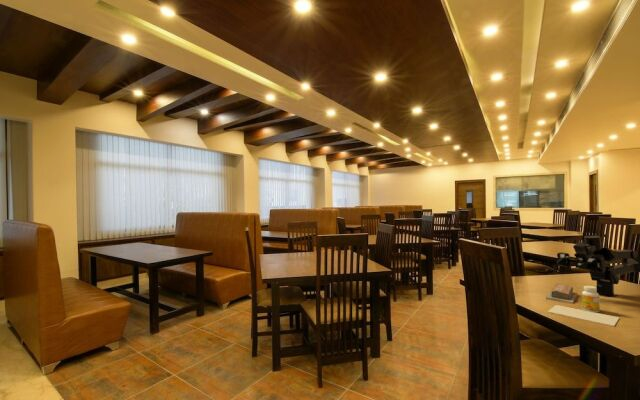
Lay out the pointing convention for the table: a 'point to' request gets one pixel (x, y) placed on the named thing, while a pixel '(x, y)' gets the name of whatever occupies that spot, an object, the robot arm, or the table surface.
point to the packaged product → (562, 294)
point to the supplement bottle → (590, 299)
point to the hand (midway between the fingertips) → (567, 265)
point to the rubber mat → (584, 315)
